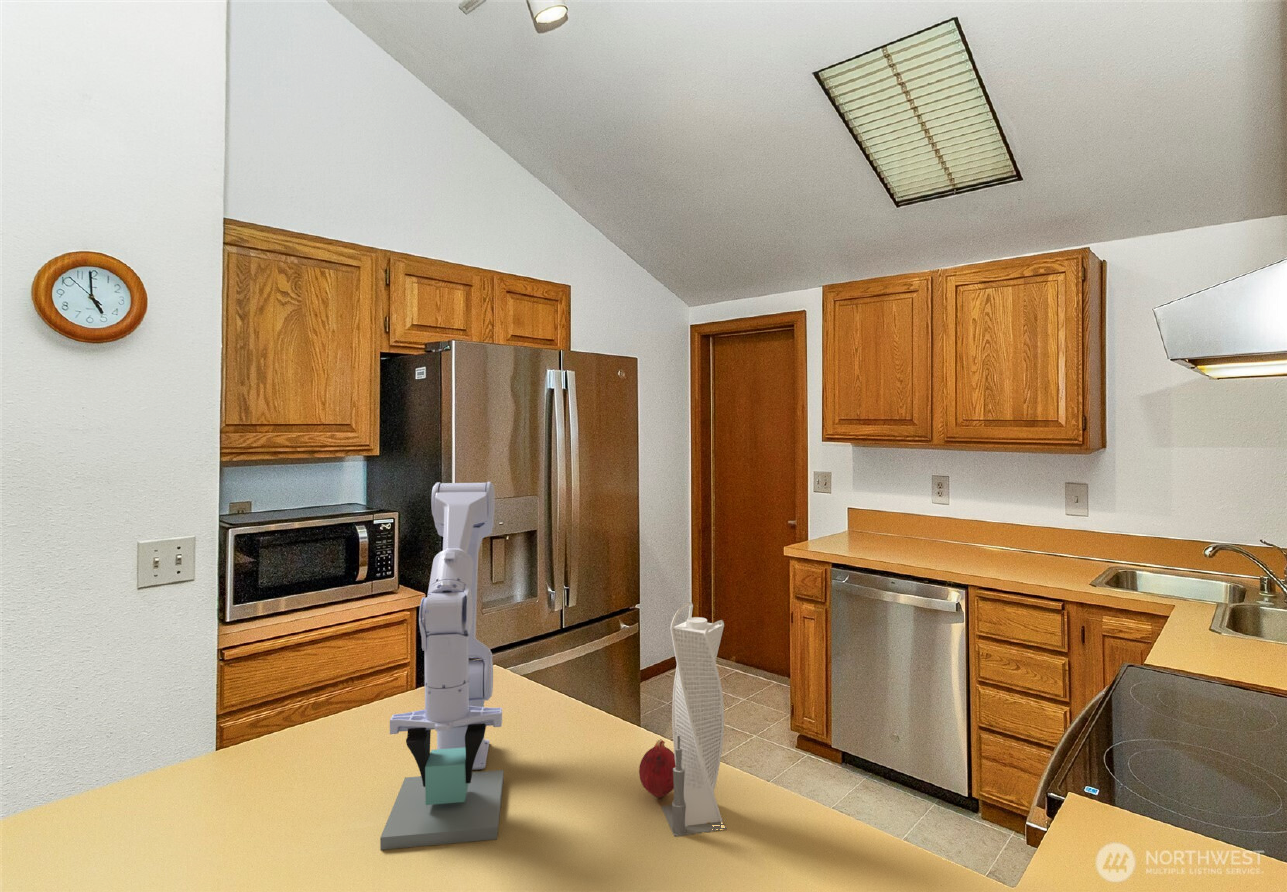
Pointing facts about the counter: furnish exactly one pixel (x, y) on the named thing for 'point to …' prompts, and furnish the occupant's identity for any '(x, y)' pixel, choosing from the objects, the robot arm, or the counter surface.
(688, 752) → the skyscraper
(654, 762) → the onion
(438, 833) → the cutting board
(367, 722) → the counter surface
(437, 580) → the robot arm
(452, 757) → the cube
